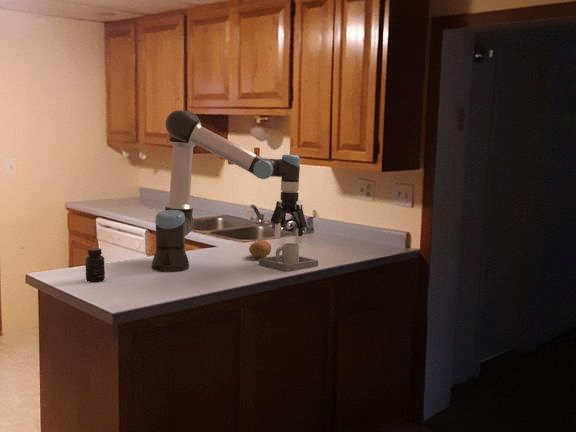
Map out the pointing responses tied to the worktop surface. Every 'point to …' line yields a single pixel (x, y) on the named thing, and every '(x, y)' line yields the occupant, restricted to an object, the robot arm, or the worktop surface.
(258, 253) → the potato
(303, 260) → the tray
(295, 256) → the cup
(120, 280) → the worktop surface
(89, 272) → the supplement bottle
